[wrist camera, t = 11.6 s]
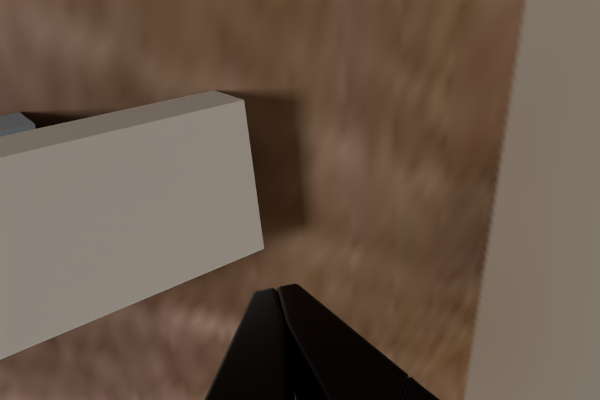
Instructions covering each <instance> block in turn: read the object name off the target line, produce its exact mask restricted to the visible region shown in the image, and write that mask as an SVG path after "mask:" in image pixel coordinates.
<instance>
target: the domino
mask: <svg viewBox="0 0 600 400" xmlns="http://www.w3.org/2000/svg"><path fill="white" fill-rule="evenodd" d="M262 249H264V244H263V237H262V229H261V222H260V215H259V207H258V200H257V192H256V185H255V177H254V170H253V163H252V155H251V148H250V140H249V133H248V126H247V118H246V111H245V103H244V100H243V99H239V98H236V97H233V96H230V95H227V94H224V93H221V92H218V91H215V90H212V91H208V92H203V93H199V94H194V95H189V96H185V97H180V98H176V99H171V100H166V101H162V102H157V103H153V104H148V105H143V106H139V107H134V108H130V109H125V110H120V111H116V112H111V113H107V114H102V115H98V116H93V117H88V118H84V119H79V120H75V121H70V122H65V123H61V124H56V125H52V126H47V127H42V128H38V129H33V130H29V131H24V132H19V133H15V134H10V135H6V136H1V137H0V360H1V359H3V358H5V357H8V356H10V355H12V354H15V353H17V352H20V351H22V350H24V349H27V348H29V347H32V346H34V345H36V344H39V343H41V342H43V341H46V340H48V339H51V338H53V337H55V336H58V335H60V334H62V333H65V332H67V331H70V330H72V329H74V328H77V327H79V326H81V325H84V324H86V323H89V322H91V321H93V320H96V319H98V318H101V317H103V316H105V315H108V314H110V313H112V312H115V311H117V310H120V309H122V308H124V307H127V306H129V305H131V304H134V303H136V302H139V301H141V300H143V299H146V298H148V297H150V296H153V295H155V294H158V293H160V292H162V291H165V290H167V289H170V288H172V287H174V286H177V285H179V284H181V283H184V282H186V281H189V280H191V279H193V278H196V277H198V276H200V275H203V274H205V273H208V272H210V271H212V270H215V269H217V268H219V267H222V266H224V265H227V264H229V263H231V262H234V261H236V260H239V259H241V258H243V257H246V256H248V255H250V254H253V253H255V252H258V251H260V250H262Z"/></svg>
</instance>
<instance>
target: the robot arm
mask: <svg viewBox="0 0 600 400" xmlns="http://www.w3.org/2000/svg"><path fill="white" fill-rule="evenodd" d="M276 291H277V292H276ZM294 393H295V394H294ZM295 397H296V400H439V399H438V398H437V397H435V396H434V395H433V394H432V393H430V392H429V391H428V390H426V389H425V388H424V387H423V386H422V385H420V384H419V383H418V382H417V381H415V380H414V379H413V378H412V377H409V376H408V374H407V373H405V372H404V371H403V370H402V369H401V368H399V367H398V366H397V365H396V364H395V363H393V362H392V361H391V360H390V359H388V358H387V357H386V356H385V355H384V354H382V353H381V352H380V351H379V350H377V349H376V348H375V347H374V346H373V345H371V344H370V343H369V342H368V341H367V340H365V339H364V338H363V337H362V336H360V335H359V334H358V333H357V332H356V331H354V330H353V329H352V328H351V327H349V326H348V325H347V324H346V323H345V322H343V321H342V320H341V319H340V318H338V317H337V316H336V315H335V314H334V313H332V312H331V311H330V310H329V309H328V308H326V307H325V306H324V305H323V304H321V303H320V302H319V301H318V300H317V299H315V298H314V297H313V296H312V295H310V294H309V293H308V292H307V291H306V290H304V289H303V288H302V287H301V286H300V285H298V284H291V285H285V286H280V287H278V288H277V290H275V289H274V288H269V289H264V290H259V291H255V292H254V293H253V295H252V297H251V300H250V302H249V304H248V306H247V308H246V310H245V313H244V315H243V317H242V319H241V321H240V324H239V326H238V328H237V330H236V332H235V334H234V337H233V339H232V341H231V343H230V345H229V348H228V350H227V352H226V354H225V356H224V358H223V361H222V363H221V365H220V367H219V369H218V372H217V374H216V376H215V378H214V380H213V382H212V385H211V387H210V389H209V391H208V393H207V396H206V398H205V400H295Z"/></svg>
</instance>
